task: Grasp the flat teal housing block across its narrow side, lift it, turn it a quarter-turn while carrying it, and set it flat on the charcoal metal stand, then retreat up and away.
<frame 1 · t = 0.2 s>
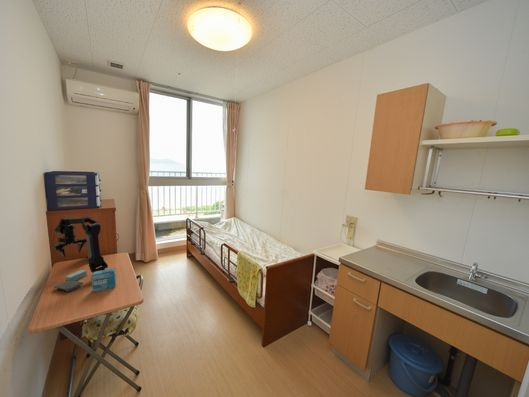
hand: (71, 254, 161), 14 cm above the table, fingers open, 9 cm apart
housing: (76, 278, 155), on the table
cassette tape recorder: (94, 257, 191), on the table
stand: (69, 287, 142), on the table
data package: (104, 288, 142), on the table
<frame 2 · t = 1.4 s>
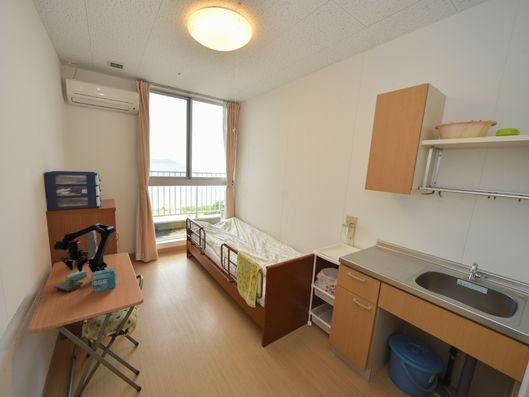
hand: (76, 270, 154), 6 cm above the table, fingers open, 9 cm apart
nothing on the table moved.
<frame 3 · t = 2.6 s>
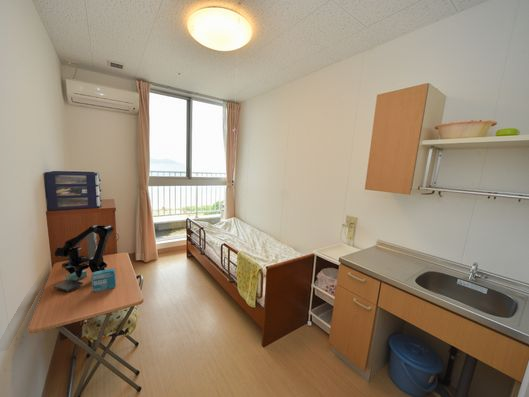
hand: (76, 277, 154), 1 cm above the table, fingers closed on housing, 5 cm apart
housing: (76, 278, 155), on the table, touching gripper
everything else where it was.
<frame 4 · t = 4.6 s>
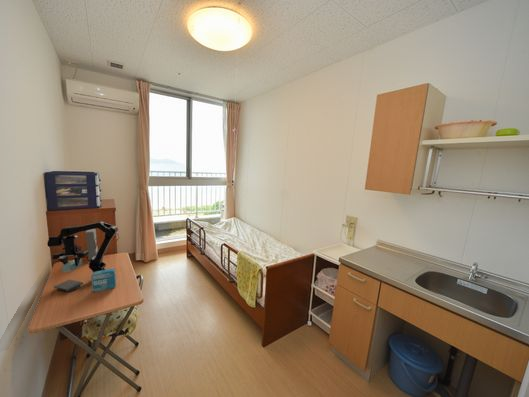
hand: (72, 266, 149), 11 cm above the table, fingers closed on housing, 5 cm apart
housing: (72, 268, 149), point 10 cm above the table, touching gripper
everything else where it was.
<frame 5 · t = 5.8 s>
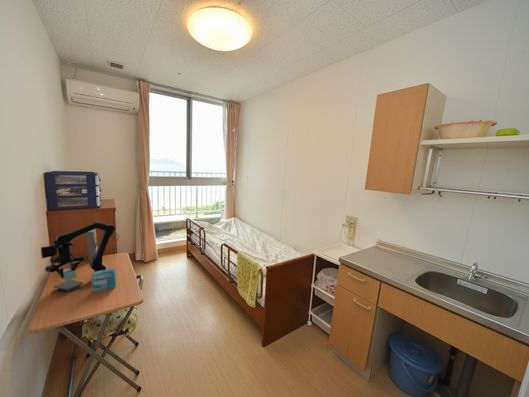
hand: (67, 275, 141), 8 cm above the table, fingers closed on housing, 5 cm apart
housing: (67, 277, 142), point 7 cm above the table, touching gripper
everything else where it was.
when the fingers open (5 cm above the table, at t = 6.8 s): housing drops 1 cm, resting on stand.
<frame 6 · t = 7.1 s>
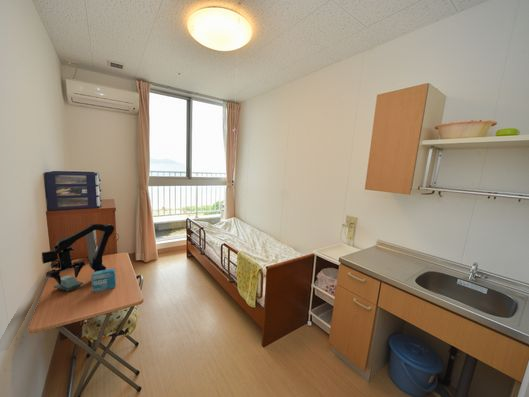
hand: (68, 280, 142), 5 cm above the table, fingers open, 9 cm apart
housing: (68, 284, 142), point 2 cm above the table, touching stand
everything else where it was.
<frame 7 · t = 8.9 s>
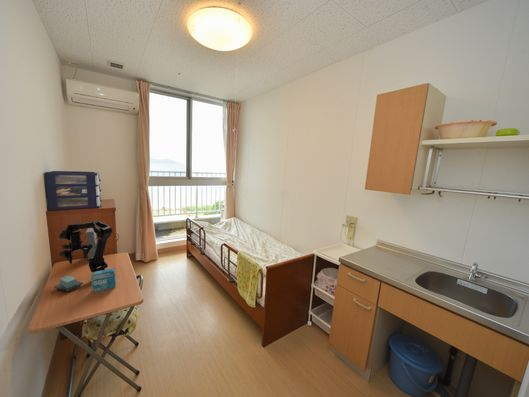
hand: (78, 261, 157), 11 cm above the table, fingers open, 9 cm apart
nothing on the table moved.
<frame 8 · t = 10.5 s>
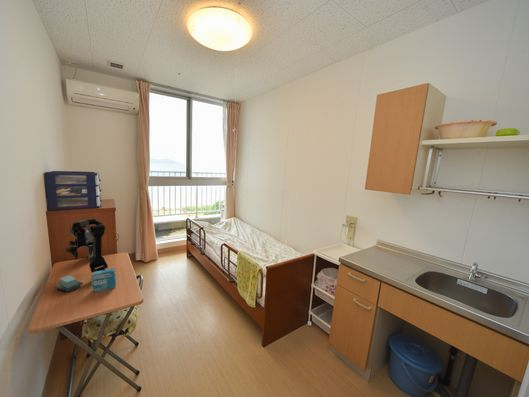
hand: (83, 257, 165), 11 cm above the table, fingers open, 9 cm apart
nothing on the table moved.
at the end: housing 0.0 cm off-centre on the stand, point 2.5 cm above the stand's base; housing tilted 0°; the gripper is holding nothing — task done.
